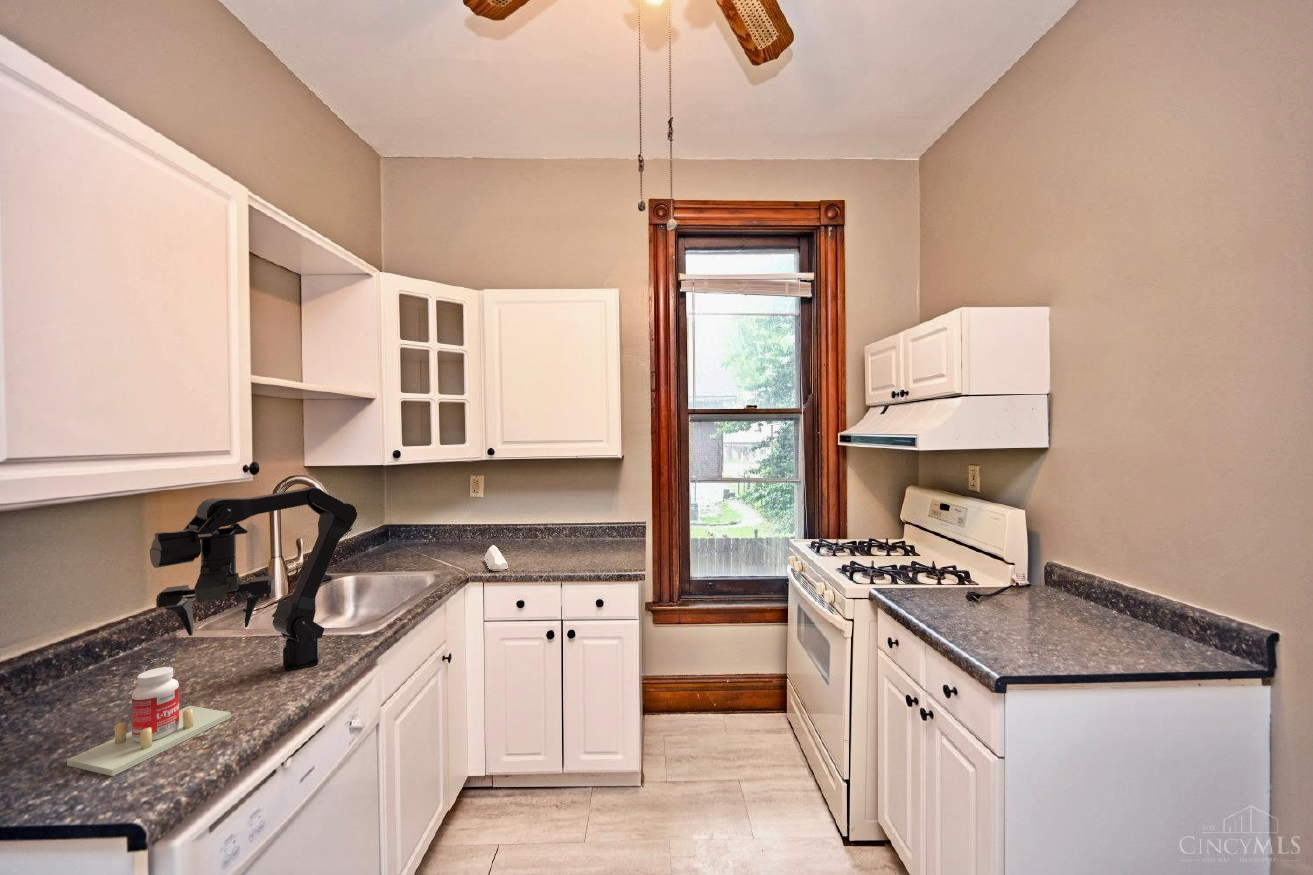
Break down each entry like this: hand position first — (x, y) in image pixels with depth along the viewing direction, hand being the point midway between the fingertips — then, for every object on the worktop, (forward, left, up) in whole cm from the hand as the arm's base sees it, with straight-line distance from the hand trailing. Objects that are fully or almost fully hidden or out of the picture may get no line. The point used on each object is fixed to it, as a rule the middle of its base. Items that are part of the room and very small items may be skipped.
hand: (219, 630), depth 112 cm
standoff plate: (+6, +17, -13) cm, 22 cm away
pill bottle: (+6, +17, -12) cm, 22 cm away
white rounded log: (-76, -83, -14) cm, 113 cm away
